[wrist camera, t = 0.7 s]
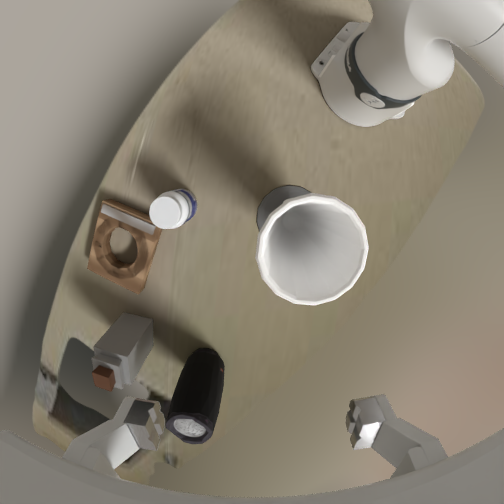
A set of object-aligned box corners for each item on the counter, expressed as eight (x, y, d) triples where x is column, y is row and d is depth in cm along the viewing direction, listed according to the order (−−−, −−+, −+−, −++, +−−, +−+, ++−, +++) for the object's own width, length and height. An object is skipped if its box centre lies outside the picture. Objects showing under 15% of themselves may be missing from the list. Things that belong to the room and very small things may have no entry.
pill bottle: (167, 221, 48) (146, 232, 38) (166, 189, 46) (144, 192, 37) (198, 221, 48) (184, 232, 38) (198, 188, 46) (183, 191, 37)
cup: (275, 262, 49) (286, 324, 29) (244, 204, 47) (233, 227, 26) (333, 233, 48) (383, 276, 27) (305, 173, 45) (343, 172, 24)
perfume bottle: (152, 319, 53) (116, 373, 36) (153, 345, 55) (122, 401, 38) (123, 312, 53) (81, 360, 36) (125, 338, 55) (88, 389, 38)
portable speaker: (224, 344, 54) (211, 415, 35) (228, 378, 57) (218, 448, 38) (183, 344, 54) (156, 410, 36) (190, 377, 57) (170, 444, 38)
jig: (110, 198, 47) (101, 200, 44) (164, 221, 48) (158, 225, 45) (94, 264, 50) (86, 269, 47) (144, 288, 51) (137, 295, 48)
